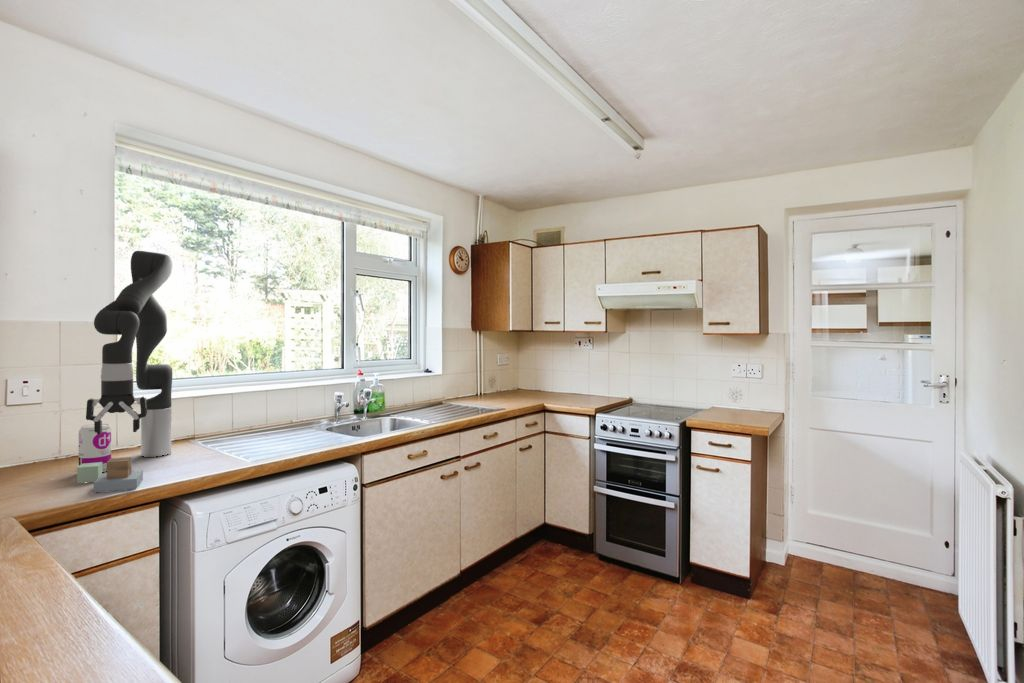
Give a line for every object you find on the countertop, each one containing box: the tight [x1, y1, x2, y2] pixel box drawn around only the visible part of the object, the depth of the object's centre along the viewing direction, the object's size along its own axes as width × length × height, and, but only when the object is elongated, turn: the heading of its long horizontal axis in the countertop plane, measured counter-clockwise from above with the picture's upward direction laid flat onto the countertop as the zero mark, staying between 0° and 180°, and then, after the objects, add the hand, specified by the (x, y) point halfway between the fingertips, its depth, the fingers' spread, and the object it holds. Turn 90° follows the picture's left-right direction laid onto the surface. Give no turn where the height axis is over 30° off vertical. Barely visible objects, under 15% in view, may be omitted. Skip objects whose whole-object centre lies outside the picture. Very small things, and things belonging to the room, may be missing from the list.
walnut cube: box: [106, 456, 132, 479], centre depth 152 cm, size 5×5×5 cm
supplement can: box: [78, 423, 112, 473], centre depth 166 cm, size 8×8×15 cm
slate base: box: [93, 469, 144, 494], centre depth 152 cm, size 10×10×3 cm
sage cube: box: [76, 462, 103, 484], centre depth 157 cm, size 5×5×5 cm
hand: (117, 432), depth 153 cm, fingers open, 8 cm apart
